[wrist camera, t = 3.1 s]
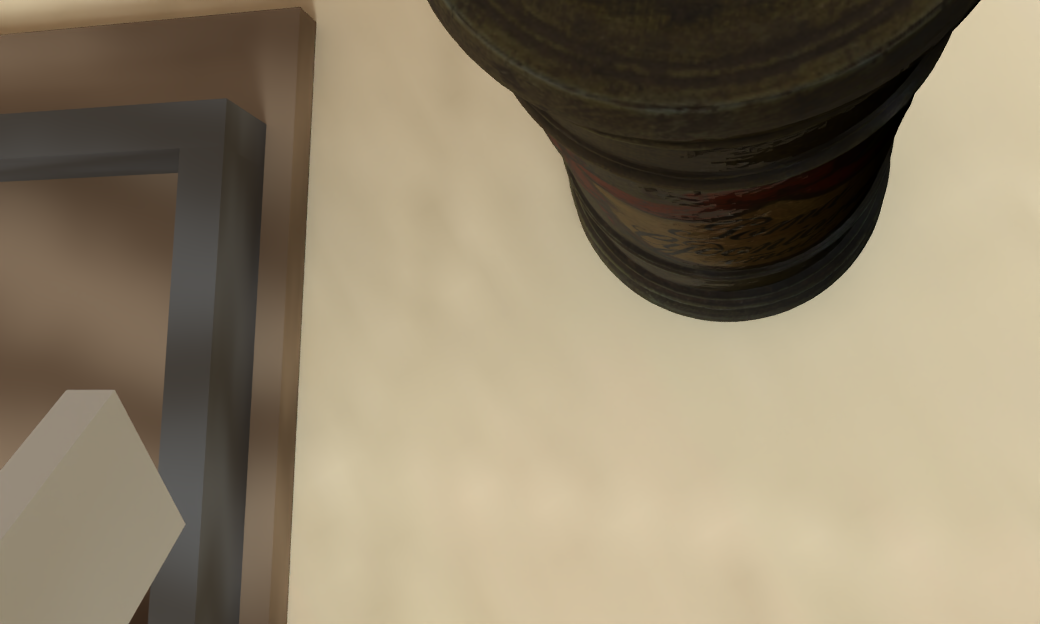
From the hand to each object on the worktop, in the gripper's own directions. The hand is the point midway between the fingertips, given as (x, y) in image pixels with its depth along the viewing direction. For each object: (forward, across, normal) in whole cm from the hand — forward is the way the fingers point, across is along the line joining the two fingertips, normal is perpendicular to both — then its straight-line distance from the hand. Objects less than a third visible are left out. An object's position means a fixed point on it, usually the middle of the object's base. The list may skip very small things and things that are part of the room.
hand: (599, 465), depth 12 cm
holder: (+13, -22, -10) cm, 28 cm away
